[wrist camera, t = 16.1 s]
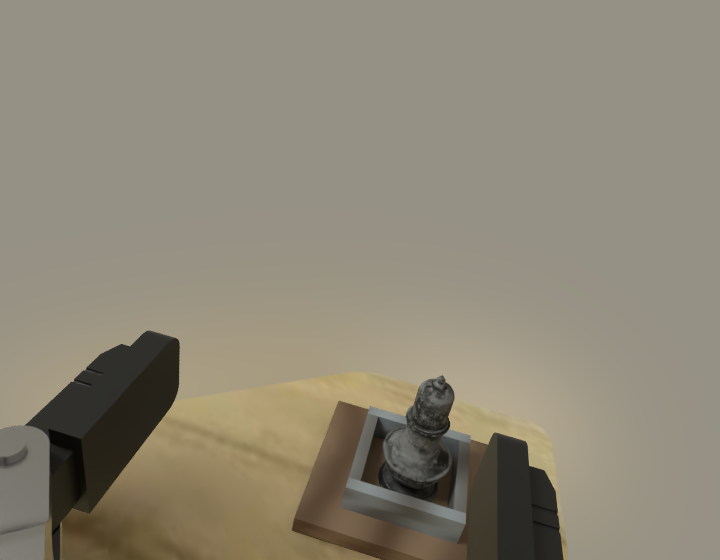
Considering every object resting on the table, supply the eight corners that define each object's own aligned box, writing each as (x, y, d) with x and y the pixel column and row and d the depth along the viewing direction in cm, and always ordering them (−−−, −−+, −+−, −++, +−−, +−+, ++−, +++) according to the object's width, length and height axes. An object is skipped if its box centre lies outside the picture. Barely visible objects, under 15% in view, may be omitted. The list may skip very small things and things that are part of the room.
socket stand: (292, 530, 44) (298, 497, 42) (336, 411, 56) (342, 381, 54) (490, 594, 42) (507, 563, 40) (492, 457, 54) (504, 429, 52)
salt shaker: (366, 456, 49) (394, 352, 43) (426, 451, 51) (461, 350, 45) (386, 514, 45) (420, 405, 39) (451, 505, 46) (493, 401, 40)
